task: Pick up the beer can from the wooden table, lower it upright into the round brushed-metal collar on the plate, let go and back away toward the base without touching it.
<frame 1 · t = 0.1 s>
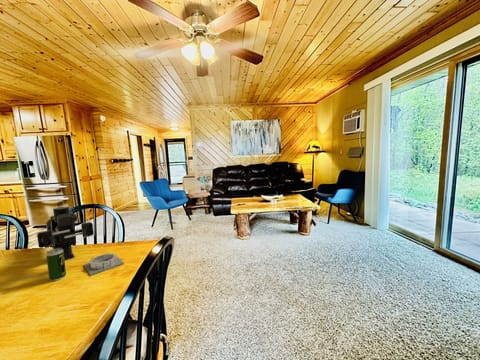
hand: (70, 238, 86), 17 cm above the table, tool horizontal, fingers open, 9 cm apart
metal collar: (103, 261, 97), on the socket plate, point 1 cm above the table
socket plate: (104, 264, 97), on the table
beer can: (58, 278, 87), on the table
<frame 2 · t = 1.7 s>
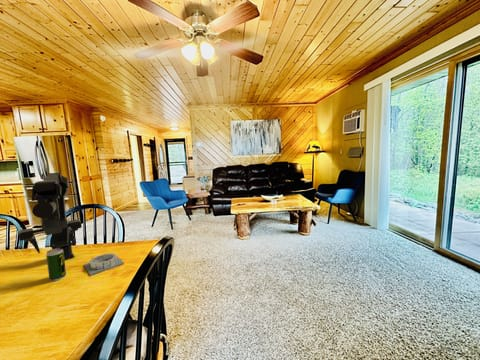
hand: (54, 249, 86), 13 cm above the table, tool pointing down, fingers open, 9 cm apart
nothing on the table moved.
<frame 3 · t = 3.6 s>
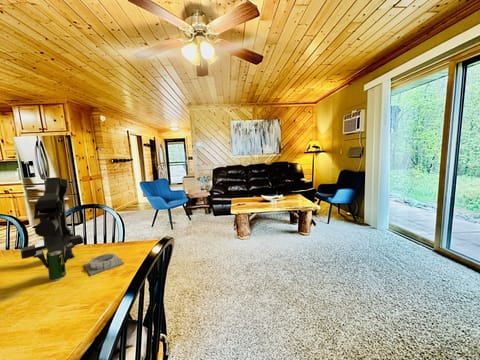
hand: (56, 265, 87), 6 cm above the table, tool pointing down, fingers closed on beer can, 5 cm apart
beer can: (58, 278, 87), on the table, touching gripper
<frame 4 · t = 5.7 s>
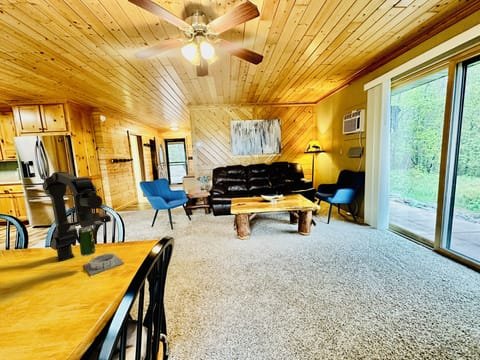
hand: (87, 241, 92), 13 cm above the table, tool pointing down, fingers closed on beer can, 5 cm apart
beer can: (88, 254, 93), point 7 cm above the table, touching gripper
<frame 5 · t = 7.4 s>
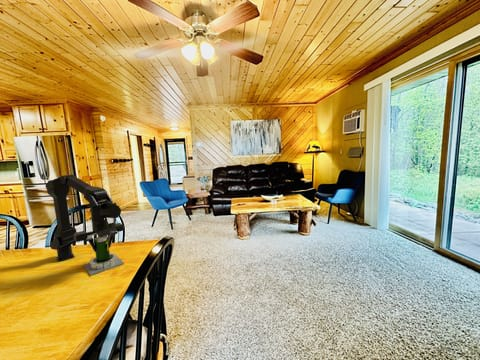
hand: (102, 249, 96), 7 cm above the table, tool pointing down, fingers closed on beer can, 5 cm apart
beer can: (103, 262, 97), point 1 cm above the table, touching gripper
when the fingers open (7 cm above the table, at t = 8.3 s): beer can stays where it is, resting on socket plate.
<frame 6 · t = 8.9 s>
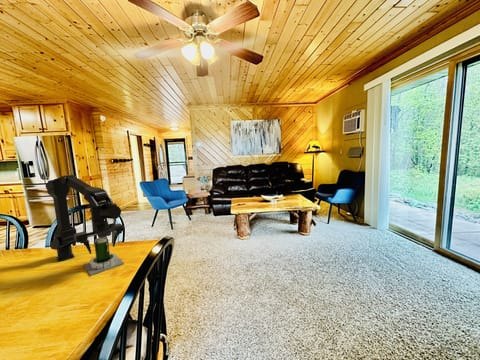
hand: (102, 250, 96), 7 cm above the table, tool pointing down, fingers open, 9 cm apart
beer can: (103, 264, 97), resting on socket plate
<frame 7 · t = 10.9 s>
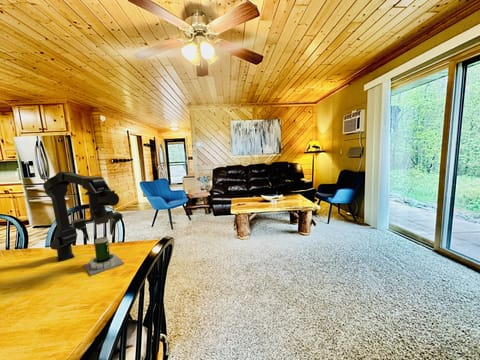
hand: (100, 237, 97), 13 cm above the table, tool pointing down, fingers open, 9 cm apart
nothing on the table moved.
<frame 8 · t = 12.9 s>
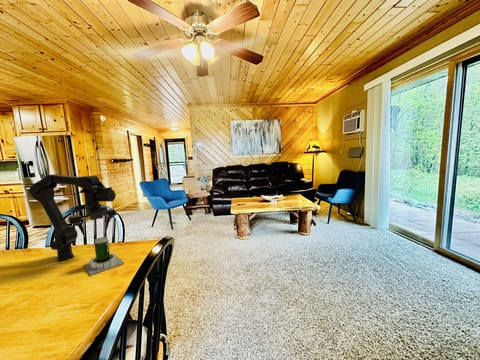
hand: (95, 232, 103), 13 cm above the table, tool pointing down, fingers open, 9 cm apart
nothing on the table moved.
at the end: beer can 0.1 cm off-centre on the socket plate, point 0.4 cm above the socket plate's base; beer can tilted 0°; the gripper is holding nothing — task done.
